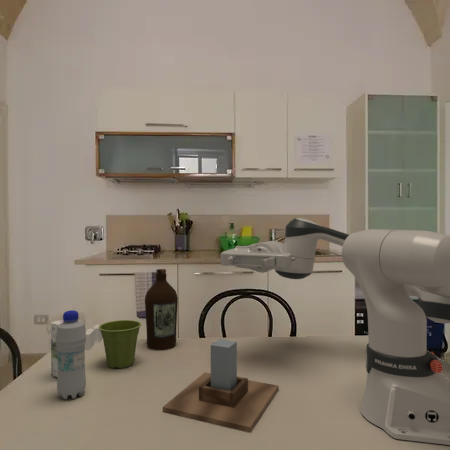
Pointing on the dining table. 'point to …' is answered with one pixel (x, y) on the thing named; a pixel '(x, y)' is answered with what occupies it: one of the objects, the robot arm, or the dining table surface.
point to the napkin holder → (93, 337)
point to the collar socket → (223, 402)
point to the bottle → (71, 356)
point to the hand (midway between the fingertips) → (246, 262)
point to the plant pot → (120, 342)
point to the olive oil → (161, 313)
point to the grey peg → (224, 364)
